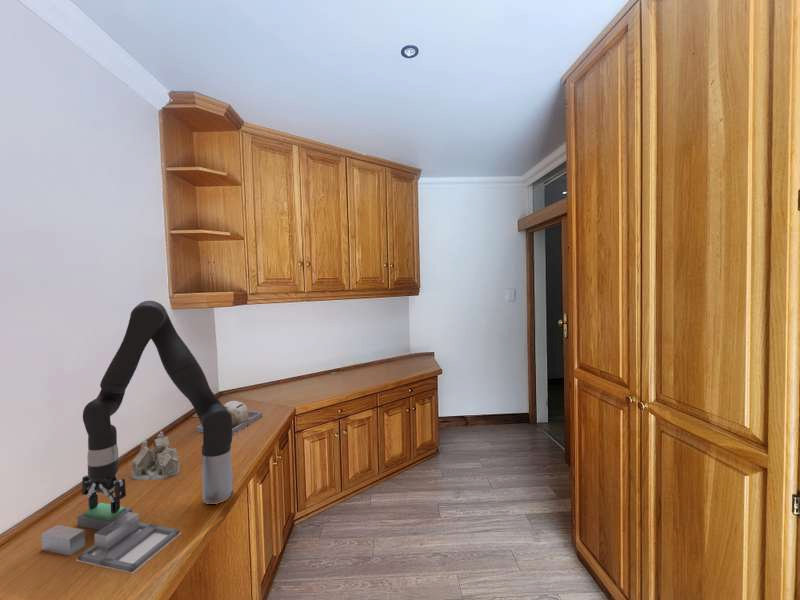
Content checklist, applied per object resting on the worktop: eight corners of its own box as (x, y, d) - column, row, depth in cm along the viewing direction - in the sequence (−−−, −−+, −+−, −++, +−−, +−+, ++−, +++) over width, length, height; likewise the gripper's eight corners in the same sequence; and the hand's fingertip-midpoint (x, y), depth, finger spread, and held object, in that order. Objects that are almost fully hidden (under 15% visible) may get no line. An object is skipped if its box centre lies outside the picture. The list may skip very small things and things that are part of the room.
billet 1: (57, 544, 109) (56, 524, 109) (85, 549, 107) (84, 529, 107) (42, 554, 106) (41, 533, 105) (70, 560, 104) (69, 539, 103)
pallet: (130, 526, 117) (130, 519, 117) (181, 536, 113) (181, 529, 113) (76, 564, 102) (75, 556, 102) (132, 577, 98) (132, 569, 97)
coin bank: (216, 420, 206) (217, 397, 205) (249, 420, 210) (251, 397, 210) (210, 432, 191) (211, 407, 190) (246, 432, 195) (248, 407, 195)
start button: (100, 507, 122) (100, 502, 121) (125, 511, 119) (125, 507, 119) (84, 516, 117) (84, 511, 117) (110, 521, 114) (110, 516, 114)
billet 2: (128, 530, 114) (127, 511, 113) (139, 533, 113) (138, 513, 112) (95, 554, 104) (94, 533, 104) (106, 556, 103) (105, 536, 103)
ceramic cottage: (129, 470, 151) (130, 435, 150) (175, 460, 161) (176, 426, 160) (133, 490, 139) (134, 451, 138) (183, 477, 150) (184, 441, 149)
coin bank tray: (231, 413, 216) (231, 409, 216) (262, 416, 212) (262, 412, 211) (196, 432, 190) (196, 427, 190) (230, 436, 185) (230, 431, 185)
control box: (101, 514, 123) (101, 502, 123) (132, 520, 120) (131, 508, 120) (77, 529, 116) (77, 516, 116) (109, 535, 113) (109, 523, 113)
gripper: (132, 456, 119) (133, 506, 120) (97, 451, 122) (98, 499, 123) (109, 468, 112) (110, 520, 112) (72, 462, 115) (73, 513, 116)
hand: (104, 509), depth 118 cm, fingers open, 8 cm apart
